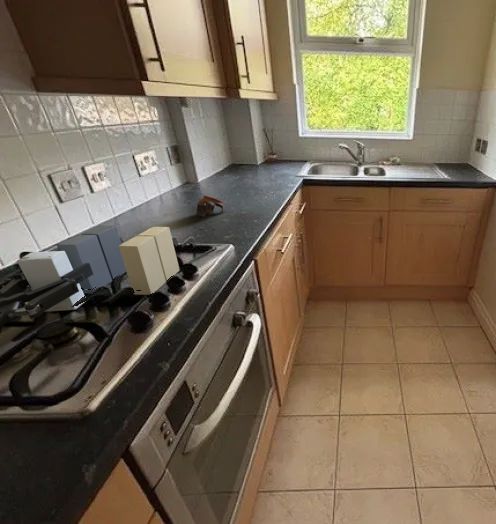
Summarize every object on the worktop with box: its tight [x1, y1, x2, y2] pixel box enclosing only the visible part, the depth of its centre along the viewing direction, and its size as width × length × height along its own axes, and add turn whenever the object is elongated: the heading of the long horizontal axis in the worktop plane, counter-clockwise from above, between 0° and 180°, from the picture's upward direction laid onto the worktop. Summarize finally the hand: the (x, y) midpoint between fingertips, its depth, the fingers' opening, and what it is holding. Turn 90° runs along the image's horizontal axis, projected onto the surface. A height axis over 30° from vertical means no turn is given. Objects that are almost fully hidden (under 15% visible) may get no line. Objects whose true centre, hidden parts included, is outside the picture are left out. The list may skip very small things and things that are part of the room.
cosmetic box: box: [16, 250, 85, 313], centre depth 68 cm, size 6×4×12 cm
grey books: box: [56, 224, 127, 294], centre depth 78 cm, size 4×12×12 cm, turn 0°
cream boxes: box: [118, 226, 180, 296], centre depth 78 cm, size 4×12×12 cm, turn 0°
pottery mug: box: [196, 195, 224, 218], centre depth 130 cm, size 12×10×8 cm
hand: (73, 268), depth 72 cm, fingers closed on cosmetic box, 6 cm apart
